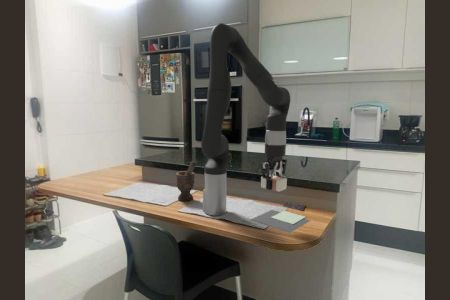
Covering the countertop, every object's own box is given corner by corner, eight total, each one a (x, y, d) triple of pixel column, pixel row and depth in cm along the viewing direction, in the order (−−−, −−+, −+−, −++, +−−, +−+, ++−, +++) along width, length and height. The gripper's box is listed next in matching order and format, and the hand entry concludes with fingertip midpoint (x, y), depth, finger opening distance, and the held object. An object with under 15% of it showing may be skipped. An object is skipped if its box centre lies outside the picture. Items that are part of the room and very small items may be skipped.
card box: (260, 187, 113) (261, 176, 112) (268, 184, 116) (268, 174, 116) (279, 191, 107) (279, 180, 107) (286, 189, 111) (287, 178, 110)
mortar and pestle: (203, 198, 146) (203, 158, 143) (194, 204, 138) (194, 161, 135) (182, 195, 150) (182, 156, 148) (173, 200, 143) (172, 159, 140)
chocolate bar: (305, 204, 136) (298, 218, 120) (305, 206, 136) (298, 220, 120) (285, 202, 140) (276, 214, 124) (285, 204, 140) (276, 217, 124)
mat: (249, 221, 118) (249, 219, 118) (273, 210, 131) (274, 208, 131) (289, 234, 106) (289, 232, 106) (312, 220, 119) (312, 218, 119)
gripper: (277, 140, 117) (275, 182, 120) (255, 143, 107) (253, 189, 109) (294, 142, 112) (292, 186, 115) (273, 145, 102) (271, 194, 104)
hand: (273, 187), depth 112 cm, fingers closed on card box, 5 cm apart
